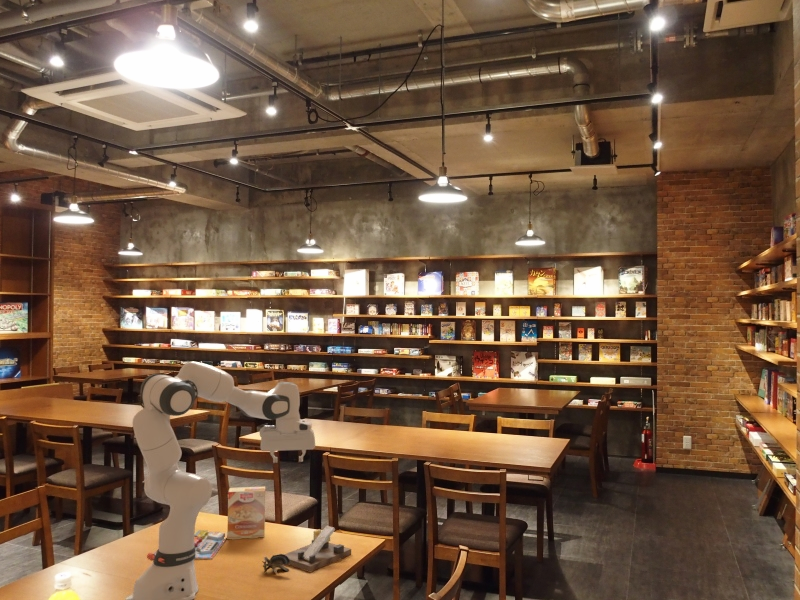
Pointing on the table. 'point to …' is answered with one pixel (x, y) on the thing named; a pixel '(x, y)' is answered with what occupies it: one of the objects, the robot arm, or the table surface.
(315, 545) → the bar
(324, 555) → the base
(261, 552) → the table surface
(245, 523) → the coffeecake box
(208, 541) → the puzzle board
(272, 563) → the eagle figurine
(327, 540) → the brass bolt
